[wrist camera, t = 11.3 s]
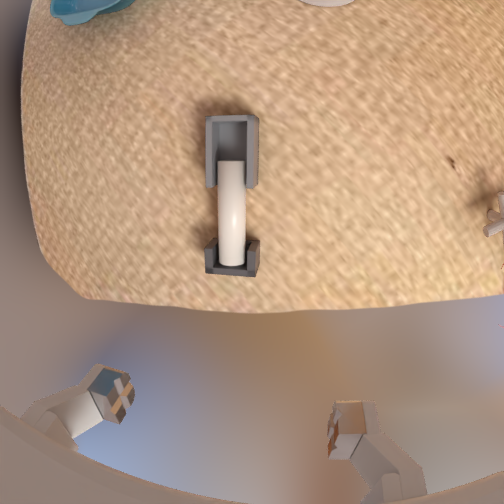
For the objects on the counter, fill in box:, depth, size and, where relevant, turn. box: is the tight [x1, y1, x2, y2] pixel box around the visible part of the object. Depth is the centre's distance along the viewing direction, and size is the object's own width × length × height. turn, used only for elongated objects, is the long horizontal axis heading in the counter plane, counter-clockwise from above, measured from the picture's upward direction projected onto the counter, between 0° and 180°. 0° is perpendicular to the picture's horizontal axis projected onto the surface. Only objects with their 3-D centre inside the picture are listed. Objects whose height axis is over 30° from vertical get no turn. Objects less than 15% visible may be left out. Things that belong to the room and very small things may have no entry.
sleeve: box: [206, 115, 259, 189], centre depth 40 cm, size 10×7×5 cm, turn 179°
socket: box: [204, 238, 260, 277], centre depth 46 cm, size 4×8×5 cm, turn 89°
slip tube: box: [217, 160, 246, 266], centre depth 43 cm, size 15×4×4 cm, turn 179°
